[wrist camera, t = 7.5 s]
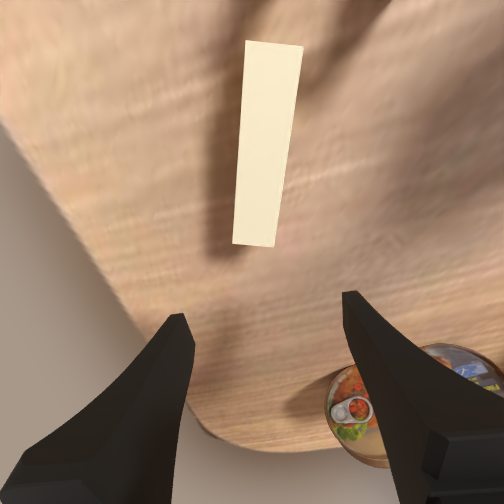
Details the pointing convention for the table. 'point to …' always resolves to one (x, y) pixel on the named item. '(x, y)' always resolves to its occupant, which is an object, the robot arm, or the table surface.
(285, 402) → the table surface
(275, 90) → the cream square stick
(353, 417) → the tin
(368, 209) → the table surface
